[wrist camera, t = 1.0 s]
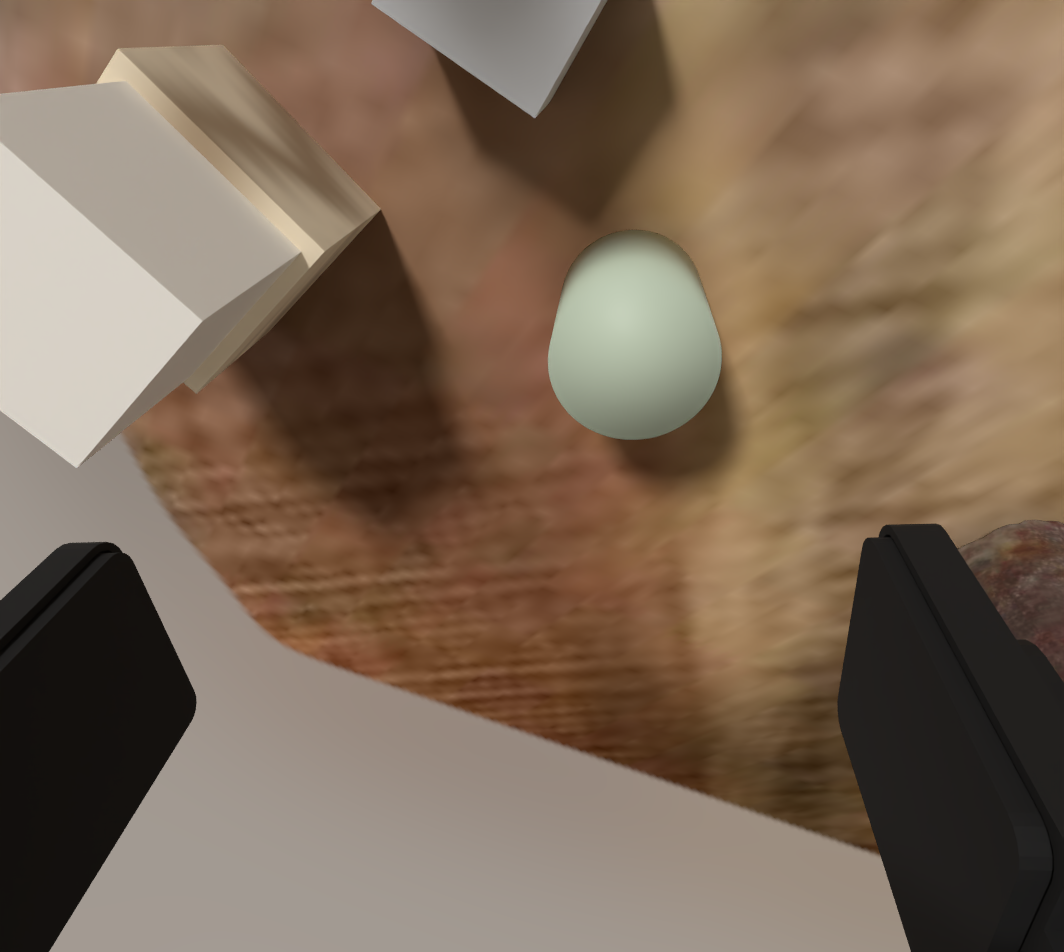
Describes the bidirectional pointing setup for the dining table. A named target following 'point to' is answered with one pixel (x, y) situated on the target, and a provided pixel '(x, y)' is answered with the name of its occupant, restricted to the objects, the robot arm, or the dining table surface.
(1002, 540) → the candle
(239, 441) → the dining table surface
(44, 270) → the tower top
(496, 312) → the dining table surface
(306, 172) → the tower base
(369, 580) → the dining table surface
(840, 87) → the dining table surface
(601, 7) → the grey cube
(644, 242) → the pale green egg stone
